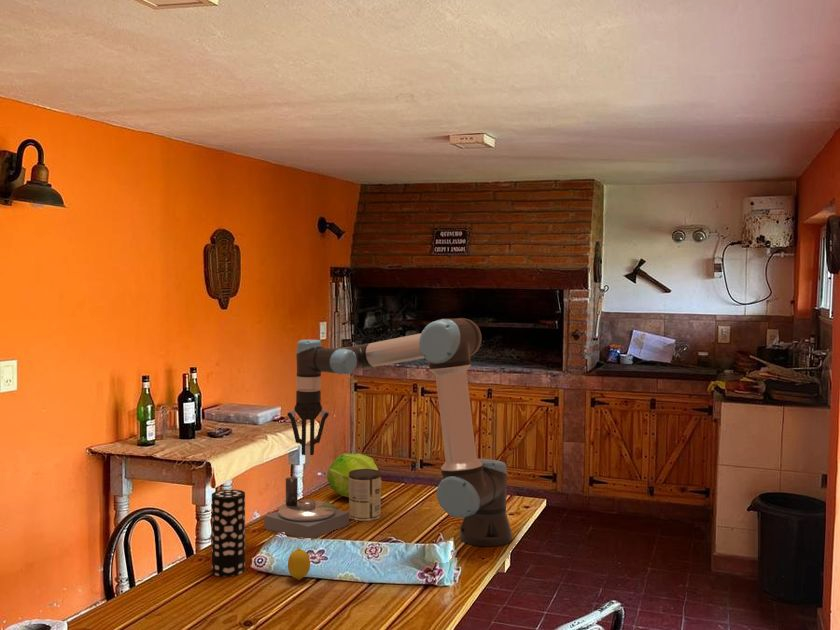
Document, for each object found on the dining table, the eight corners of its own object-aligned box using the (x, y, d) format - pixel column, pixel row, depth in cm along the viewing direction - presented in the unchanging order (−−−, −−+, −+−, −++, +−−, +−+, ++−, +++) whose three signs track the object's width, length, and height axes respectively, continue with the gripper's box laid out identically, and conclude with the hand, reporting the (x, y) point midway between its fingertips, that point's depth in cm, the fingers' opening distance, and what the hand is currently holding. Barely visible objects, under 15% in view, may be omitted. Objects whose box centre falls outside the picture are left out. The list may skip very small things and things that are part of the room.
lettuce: (358, 514, 265) (358, 470, 262) (318, 496, 278) (317, 455, 275) (393, 498, 278) (393, 457, 275) (353, 482, 291) (353, 442, 288)
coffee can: (351, 511, 261) (351, 468, 260) (383, 512, 260) (383, 469, 259) (345, 520, 251) (345, 475, 250) (378, 521, 250) (378, 476, 249)
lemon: (285, 577, 202) (285, 546, 202) (307, 575, 204) (307, 543, 204) (290, 585, 197) (290, 553, 197) (312, 582, 199) (312, 550, 199)
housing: (349, 525, 246) (349, 512, 246) (308, 540, 231) (308, 526, 231) (305, 514, 256) (305, 502, 256) (264, 528, 242) (264, 515, 241)
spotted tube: (251, 568, 208) (251, 492, 207) (228, 579, 201) (228, 499, 200) (228, 562, 212) (228, 487, 211) (204, 572, 205) (204, 495, 204)
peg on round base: (346, 511, 246) (347, 480, 245) (308, 524, 232) (308, 492, 231) (305, 502, 255) (305, 472, 255) (266, 514, 241) (266, 483, 241)
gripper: (330, 388, 253) (329, 462, 254) (288, 387, 252) (287, 462, 253) (329, 391, 245) (328, 468, 246) (286, 391, 244) (285, 468, 245)
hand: (307, 465), depth 250 cm, fingers closed
